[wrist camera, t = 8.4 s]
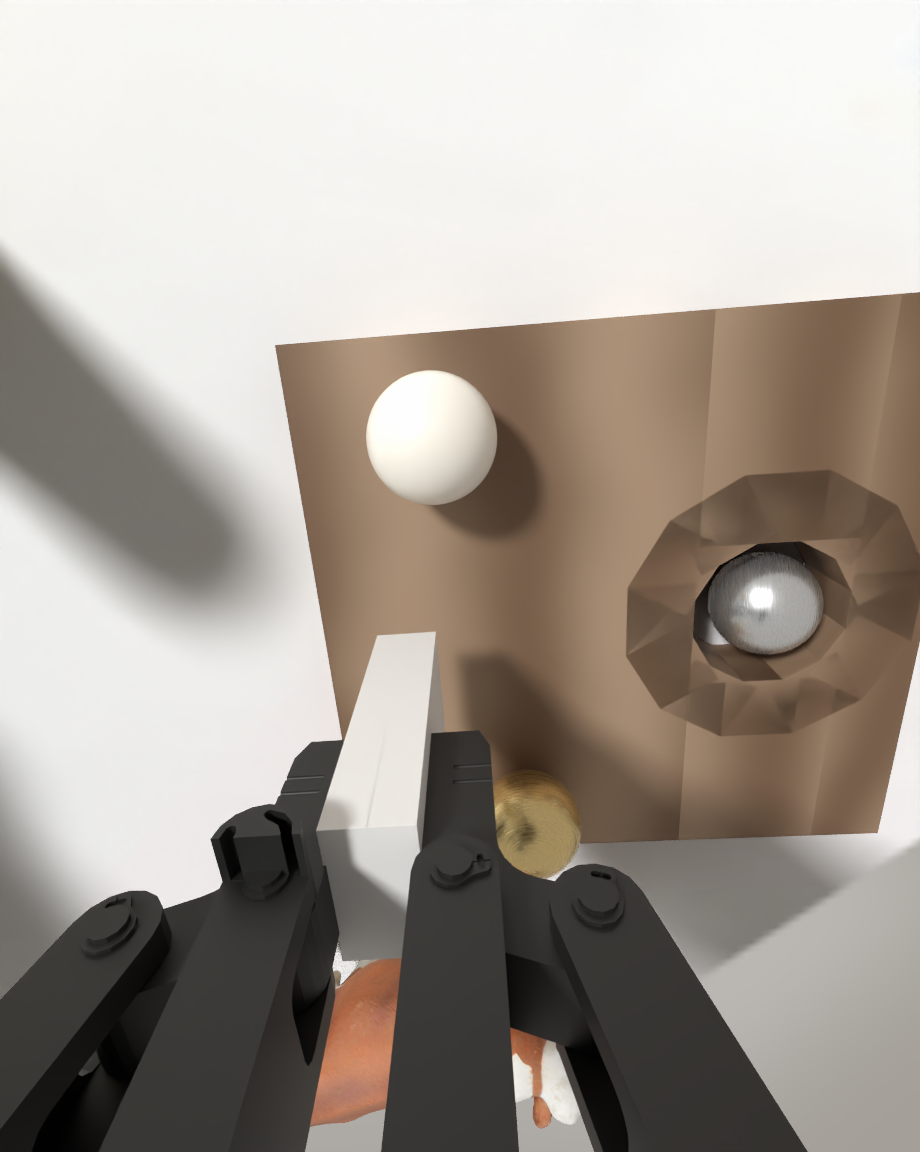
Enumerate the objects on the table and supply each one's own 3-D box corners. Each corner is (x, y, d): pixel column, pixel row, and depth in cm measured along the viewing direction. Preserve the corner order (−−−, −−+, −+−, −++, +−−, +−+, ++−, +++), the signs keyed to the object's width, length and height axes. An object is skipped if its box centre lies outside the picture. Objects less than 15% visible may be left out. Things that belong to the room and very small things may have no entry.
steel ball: (706, 667, 18) (826, 678, 17) (714, 569, 17) (843, 574, 16) (702, 624, 21) (804, 631, 19) (709, 537, 19) (818, 540, 18)
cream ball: (384, 494, 16) (364, 523, 13) (370, 374, 15) (344, 376, 12) (498, 486, 16) (503, 514, 13) (491, 365, 15) (495, 365, 12)
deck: (373, 801, 23) (361, 851, 21) (302, 348, 17) (275, 345, 15) (835, 783, 22) (877, 832, 20) (923, 297, 16) (998, 285, 14)
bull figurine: (599, 905, 25) (653, 1146, 17) (312, 965, 27) (245, 1208, 19) (573, 828, 23) (620, 1053, 16) (273, 897, 25) (183, 1130, 18)
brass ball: (481, 826, 20) (482, 907, 17) (475, 751, 19) (475, 822, 16) (573, 823, 20) (590, 904, 17) (572, 746, 19) (590, 818, 16)
